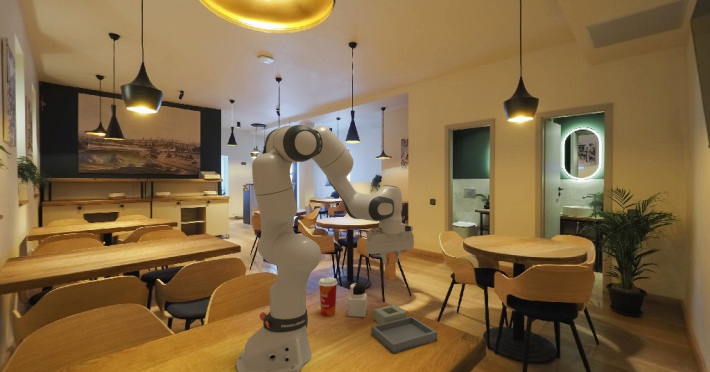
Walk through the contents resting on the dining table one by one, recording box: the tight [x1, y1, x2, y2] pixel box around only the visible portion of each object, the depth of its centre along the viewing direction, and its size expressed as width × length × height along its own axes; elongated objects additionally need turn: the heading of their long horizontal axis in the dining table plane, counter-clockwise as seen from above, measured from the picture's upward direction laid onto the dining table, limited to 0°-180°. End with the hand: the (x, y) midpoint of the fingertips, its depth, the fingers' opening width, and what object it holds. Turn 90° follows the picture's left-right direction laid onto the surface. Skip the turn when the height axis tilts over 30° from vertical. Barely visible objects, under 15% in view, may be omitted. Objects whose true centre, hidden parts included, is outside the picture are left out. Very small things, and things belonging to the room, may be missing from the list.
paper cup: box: [318, 276, 338, 318], centre depth 132 cm, size 8×8×14 cm
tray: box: [370, 315, 438, 355], centre depth 113 cm, size 18×14×3 cm
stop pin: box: [384, 252, 397, 281], centre depth 125 cm, size 3×3×10 cm
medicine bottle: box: [347, 282, 368, 318], centre depth 132 cm, size 7×7×12 cm
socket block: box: [373, 304, 408, 324], centre depth 125 cm, size 10×8×4 cm
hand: (390, 262), depth 125 cm, fingers closed on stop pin, 3 cm apart
